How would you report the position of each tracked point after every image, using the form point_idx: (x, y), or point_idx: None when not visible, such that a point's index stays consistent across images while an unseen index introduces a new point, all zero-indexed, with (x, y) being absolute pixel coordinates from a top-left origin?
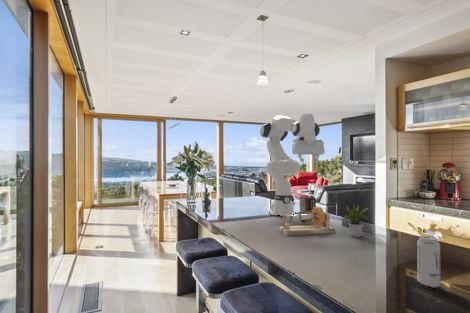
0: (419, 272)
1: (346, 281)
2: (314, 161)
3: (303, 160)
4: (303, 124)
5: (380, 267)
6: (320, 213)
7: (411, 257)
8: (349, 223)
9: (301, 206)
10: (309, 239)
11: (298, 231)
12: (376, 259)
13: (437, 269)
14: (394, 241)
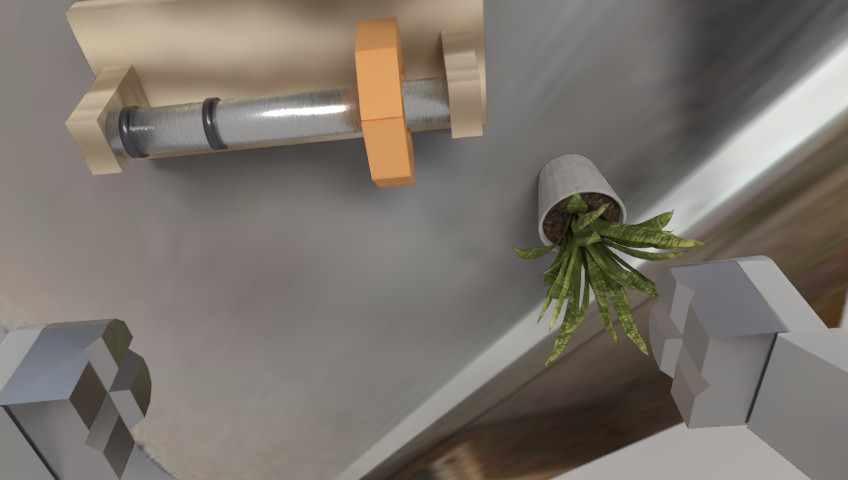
0: None
1: (266, 477)
2: (662, 283)
3: (142, 413)
4: None
5: (397, 437)
6: (379, 186)
7: (551, 399)
8: (540, 224)
9: None
10: (264, 217)
11: (212, 151)
12: (427, 403)
13: None
14: None
